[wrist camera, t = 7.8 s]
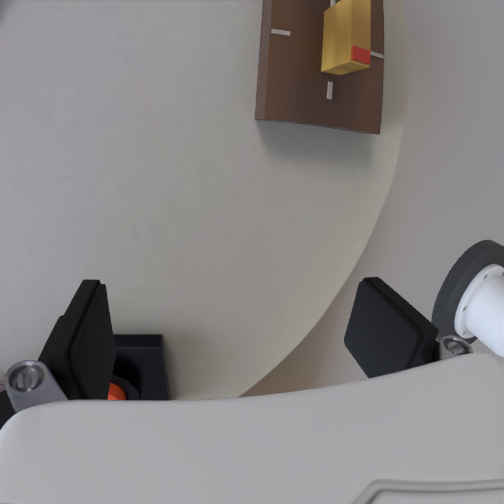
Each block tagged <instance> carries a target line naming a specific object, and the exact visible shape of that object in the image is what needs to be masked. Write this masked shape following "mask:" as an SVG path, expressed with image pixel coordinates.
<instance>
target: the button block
mask: <svg viewBox="0 0 504 504" xmlns="http://www.w3.org/2000/svg"><path fill="white" fill-rule="evenodd" d="M113 336H114V342H115V347H116V358H115V362H114V367H113V372H112V378H111V383H112V384H115V385H117V386H119V387H121V388H122V389H123V391H124V392H125V394H126V400H151V401H171V397H170V391H169V384H168V378H167V371H166V363H165V356H164V348H163V339H162V335H161V334H157V335H118V334H113Z"/></svg>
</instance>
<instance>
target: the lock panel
mask: <svg viewBox="0 0 504 504" xmlns="http://www.w3.org/2000/svg"><path fill="white" fill-rule="evenodd" d="M339 1H340V0H263V10H262V24H261V38H260V52H259V67H258V82H257V96H256V111H255V120H266V121H278V122H288V123H297V124H306V125H313V126H321V127H328V128H335V129H341V130H348V131H354V132H359V133H369V134H380V124H381V110H382V94H383V70H384V13H383V0H370V1H371V46H370V51H371V54H370V68H366V69H362V70H358V71H354V72H350V73H346V74H343V75H335V74H330V73H326V72H322V71H321V67H322V50H323V29H324V11H326V10H327V9H329V8H330V7H332V6H333V5H334V4H336V3H337V2H339Z"/></svg>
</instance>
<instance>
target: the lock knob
mask: <svg viewBox="0 0 504 504" xmlns="http://www.w3.org/2000/svg"><path fill="white" fill-rule="evenodd" d="M370 46H371V1H370V0H340V1H339V2H337V3H336V4H334V5H333V6H332V7H330V8H329V9H327V10H326V11H324V29H323V50H322V67H321V71H322V72H326V73H330V74H335V75H343V74H346V73H350V72H354V71H358V70H362V69H366V68H370V54H371V51H370Z"/></svg>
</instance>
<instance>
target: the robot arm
mask: <svg viewBox="0 0 504 504" xmlns="http://www.w3.org/2000/svg"><path fill="white" fill-rule="evenodd" d="M454 322H455V330H456V332H457V334H458V335H460V336H461V337H462V338H471V337H474V336H476V337H477V338H479V339H480V340H481V341H482V342H483V343H484V344H485V345H486V346H487V347H489V348H490V349H491V350H492V351H493V352H494V353H495V354H496V355H495V354H490V353H473V350H472V347H471V346H470V345H469V343H468V342H466V341H465V340H463V339H462V338H460V337H457V336H453V335H445V336H442V337H441V338H440V340H439V342H438V341H437V340H436V337H437V335H438V333H439V329H437V328H436V327H435V326H434V325H433V324H432V323H431V322H430V321H429V320H427V319H426V318H425V317H424V316H423V315H422V314H421V313H420V312H418V311H417V310H416V309H415V308H414V307H413V306H412V305H410V304H409V303H408V302H407V301H406V300H405V299H403V298H402V297H401V296H400V295H399V294H398V293H397V292H395V291H394V290H393V289H392V288H391V287H389V286H388V285H387V284H386V283H385V282H384V281H382V280H381V279H380V278H379V277H368V278H364V279H363V280H362V281H361V282H360V283H359V285H358V289H357V293H356V297H355V301H354V305H353V308H352V312H351V316H350V319H349V323H348V326H347V330H346V333H345V337H344V343H345V346H346V347H347V349H348V350H349V352H350V353H351V354H352V356H353V357H354V359H355V360H356V361H357V363H358V364H359V366H360V367H361V368H362V370H363V371H364V373H365V374H366V375H367V377H368V378H369V379H364V380H360V381H355V382H350V383H344V384H339V385H333V386H328V387H322V388H316V389H310V390H302V391H295V392H288V393H280V394H271V395H261V396H251V397H239V398H225V399H207V400H174V401H151V400H108V394H109V388H110V383H111V378H112V372H113V367H114V362H115V358H116V347H115V342H114V336H113V331H112V325H111V319H110V312H109V305H108V298H107V291H106V286H105V284H101V283H100V280H83V281H82V283H81V285H80V286H79V288H78V290H77V292H76V294H75V295H74V297H73V299H72V301H71V303H70V305H69V306H68V308H67V310H66V312H65V314H64V316H63V315H62V316H60V317H59V319H58V320H57V322H56V324H55V326H54V328H53V330H52V332H51V334H50V336H49V338H48V340H47V342H46V344H45V346H44V348H43V350H42V352H41V354H40V357H39V359H38V361H36V360H24V361H21V362H18V363H16V364H14V365H13V366H12V367H10V368H9V369H8V371H7V372H6V374H5V376H4V386H5V390H3V391H1V392H0V504H504V268H503V267H501V266H500V265H498V264H491V265H488V266H487V267H485V268H484V269H482V270H481V271H480V272H479V273H478V274H477V275H476V276H475V277H474V279H473V280H472V281H471V283H470V284H469V285H468V287H467V289H466V290H465V292H464V294H463V296H462V298H461V300H460V302H459V305H458V308H457V311H456V315H455V321H454Z"/></svg>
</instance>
